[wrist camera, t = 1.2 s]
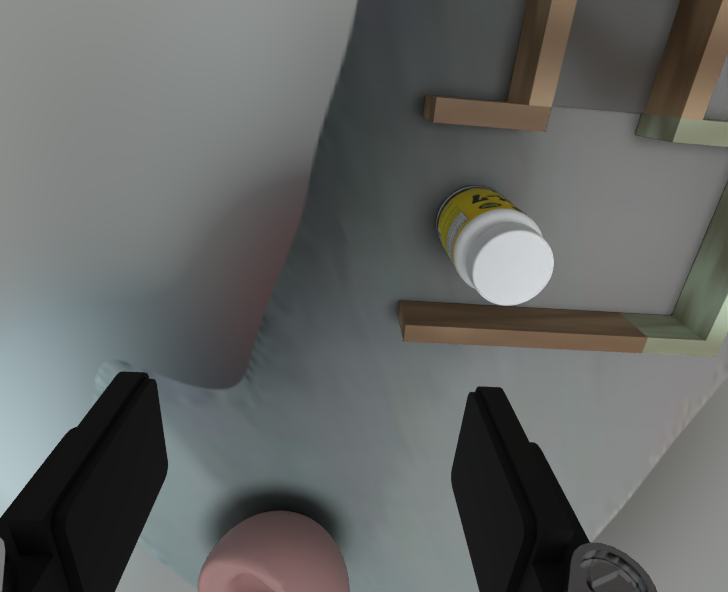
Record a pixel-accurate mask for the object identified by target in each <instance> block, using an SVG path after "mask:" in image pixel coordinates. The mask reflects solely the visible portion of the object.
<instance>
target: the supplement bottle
mask: <svg viewBox="0 0 728 592" xmlns="http://www.w3.org/2000/svg"><path fill="white" fill-rule="evenodd" d="M436 229H437V234H438V237H439V240H440V242H441V244H442V245H443V247H444V249H445V251H446V252H447V254H448V256H449V258H450V260H451V261H452V263H453V265H454V267H455V269H456V270H457V272H458V274H459V275H460V277H461V278H462V279H463V280H464V281H465V282H466V283H467V284H468V285H469V286H471V287H472V288H474V289H476V290H477V291H478V293H479V294H480V295H481V296H482V297H483V298H485V299H486V300H488V301H490V302H492V303H495V304H498V305H506V306H507V305H516V304H520V303H523V302H526V301H528V300H530V299H531V298H533V297H534V296H536V295H537V294H538V293H539V292H541V291H542V289H543V288H544V287H545V286H546V284H547V283H548V281H549V279H550V277H551V275H552V272H553V267H554V258H553V253H552V250H551V248H550V246H549V244H548V243H547V242H546V241H545V240H544V239H543V237H542V233H541V231H540V229H539V227H538V226H537V225H536V223H535V222H534V221H533V220H532V219H531V218H530V217H529V216H528V215H526V214H525V213H523V212H522V211H521V210H520V209H518V208H517V207H516V206H515V205H513V204H512V203H511V202H509V201H508V200H507V199H506V198H504V197H503V196H502V195H500V194H499V193H498V192H496V191H494V190H493V189H490V188H487V187H483V186H470V187H465V188H462V189H460V190H458V191H456V192H455V193H453V194H452V195H451V196H449V197H448V198H447V199H446V200H445V202H444V203H443V205H442V206H441V208H440V210H439V213H438V216H437V221H436Z"/></svg>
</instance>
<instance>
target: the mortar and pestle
mask: <svg viewBox="0 0 728 592" xmlns="http://www.w3.org/2000/svg"><path fill="white" fill-rule="evenodd" d="M198 592H350V588H349V578H348V573H347V568H346V564H345V561H344V558H343V556H342V554H341V551H340V549H339V547H338V546H337V544H336V542H335V541H334V539H333V538H332V537H331V535H330V534H329V533H328V532H327V531H326V530H325V529H324V528H323V527H322V526H321V525H319V524H318V523H317V522H315V521H314V520H312V519H310V518H309V517H306V516H304V515H302V514H299V513H295V512H290V511H269V512H264V513H260V514H257V515H254V516H252V517H250V518H248V519H245V520H243V521H242V522H240V523H239V524H237V525H236V526H234V527H233V528H232V529H231V530H229V531H228V532H227V533H226V534H225V535H224V536H223V537H222V538H221V539H220V540H219V541H218V543H217V544H216V545H215V546H214V548H213V549H212V551H211V552H210V554H209V555H208V557H207V559H206V561H205V563H204V565H203V567H202V569H201V572H200V575H199V579H198Z"/></svg>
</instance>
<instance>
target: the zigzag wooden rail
mask: <svg viewBox="0 0 728 592" xmlns="http://www.w3.org/2000/svg"><path fill="white" fill-rule="evenodd" d="M727 53H728V0H527V4H526V9H525V15H524V20H523V25H522V30H521V35H520V40H519V45H518V50H517V55H516V60H515V65H514V70H513V75H512V80H511V85H510V90H509V95H508V100H507V102H505V101H494V100H482V99H471V98H459V97H448V96H436V95H426V96H425V104H424V112H423V117H424V118H426V119H428V120H430V121H432V122H434V123H446V124H458V125H470V126H483V127H495V128H507V129H519V130H531V131H543V132H546V129H547V125H548V121H549V116H550V112H551V108H552V106H562V107H573V108H585V109H596V110H608V111H619V112H631V113H642V115H641V118H640V121H639V124H638V127H637V130H636V134H635V135H639V136H644V137H649V138H654V139H659V140H664V141H669V142H676V143H688V144H700V145H712V146H724V147H728V121H724V120H712V119H703V118H704V115H705V112H706V110H707V107H708V104H709V102H710V99H711V96H712V94H713V91H714V88H715V86H716V83H717V80H718V78H719V75H720V72H721V70H722V67H723V64H724V62H725V59H726V56H727ZM398 319H399V323H400V328H401V333H402V337H403V341H406V342H427V343H447V344H467V345H487V346H507V347H528V348H548V349H568V350H588V351H608V352H629V353H649V354H669V355H689V356H709V357H716V355H717V353H718V351H719V349H720V347H721V345H722V343H723V341H724V339H725V337H726V335H727V333H728V183H727V185H726V188H725V190H724V192H723V195H722V197H721V200H720V202H719V204H718V207H717V209H716V211H715V214H714V216H713V219H712V221H711V223H710V226H709V228H708V231H707V233H706V235H705V238H704V240H703V242H702V245H701V247H700V250H699V252H698V254H697V257H696V259H695V262H694V264H693V266H692V269H691V271H690V273H689V276H688V278H687V281H686V283H685V285H684V288H683V290H682V293H681V295H680V297H679V300H678V302H677V304H676V307H675V309H674V312H673V314H672V316H671V315H653V314H635V313H617V312H599V311H581V310H563V309H545V308H527V307H509V306H491V305H473V304H455V303H437V302H419V301H401V300H400V302H399V310H398Z"/></svg>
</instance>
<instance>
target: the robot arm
mask: <svg viewBox="0 0 728 592" xmlns="http://www.w3.org/2000/svg"><path fill="white" fill-rule="evenodd" d="M167 470H168V460H167V453H166V446H165V439H164V432H163V425H162V418H161V411H160V404H159V397H158V390H157V383H156V381H155V379H149V376H148V374H147V373H145V372H119V373H118V374H117V375H116V376H115V378H114V379H113V380H112V382H111V383H110V384H109V386H108V387H107V388H106V390H105V391H104V392H103V394H102V395H101V396H100V397H99V399H98V400H97V401H96V403H95V404H94V405H93V407H92V408H91V409H90V411H89V412H88V413H87V414H86V416H85V417H84V418H83V420H82V421H81V422H80V424H79V425H78V426H77V427H75V428H73V429H71V430H70V431H68V433H66V435H65V436H64V437H63V438H62V440H61V441H60V442H59V443H58V445H57V446H56V447H55V449H54V450H53V451H52V452H51V454H50V455H49V456H48V457H47V459H46V460H45V461H44V463H43V464H42V465H41V466H40V468H39V469H38V470H37V472H36V473H35V474H34V475H33V477H32V478H31V479H30V481H29V482H28V483H27V484H26V486H25V487H24V488H23V490H22V491H21V492H20V493H19V495H18V496H17V498H16V499H15V500H14V501H13V502H12V504H11V505H10V506H9V508H8V509H7V510H6V511H5V513H4V514H3V515H2V517H1V518H0V592H115V590H116V588H117V585H118V583H119V581H120V579H121V576H122V574H123V572H124V570H125V567H126V565H127V563H128V561H129V559H130V556H131V554H132V552H133V550H134V547H135V545H136V543H137V541H138V539H139V536H140V534H141V532H142V530H143V527H144V525H145V523H146V521H147V518H148V516H149V514H150V512H151V509H152V507H153V505H154V503H155V500H156V498H157V496H158V494H159V491H160V489H161V487H162V485H163V483H164V480H165V478H166V475H167ZM451 482H452V488H453V492H454V495H455V499H456V503H457V507H458V511H459V515H460V518H461V522H462V526H463V530H464V534H465V538H466V541H467V545H468V549H469V553H470V557H471V561H472V564H473V568H474V572H475V576H476V580H477V584H478V587H479V591H480V592H657V590H656V587H655V585H654V584H653V582H652V580H651V578H650V576H649V575H648V574H647V573H646V571H645V570H644V569H643V568H642V567H641V566H640V565H639V564H638V563H637V562H636V561H635V560H634V559H632V558H631V557H630V556H628V555H627V554H626V553H624V552H622V551H620V550H618V549H616V548H615V547H612V546H608V545H606V544H602V543H590V542H589V540H588V538H587V536H586V534H585V532H584V530H583V528H582V526H581V525H580V523H579V521H578V519H577V517H576V515H575V513H574V511H573V509H572V507H571V505H570V504H569V502H568V500H567V498H566V496H565V494H564V492H563V490H562V488H561V486H560V485H559V483H558V481H557V479H556V477H555V475H554V473H553V471H552V469H551V467H550V465H549V464H548V462H547V460H546V458H545V456H544V454H543V452H542V450H541V449H540V447H539V446H538V445H537V444H536V443H533V442H529V440H528V438H527V436H526V434H525V432H524V430H523V428H522V426H521V424H520V422H519V420H518V418H517V416H516V414H515V412H514V410H513V408H512V406H511V405H510V403H509V401H508V399H507V397H506V395H505V393H504V391H503V389H502V388H500V387H480V386H479V387H477V389H476V391H475V392H470V393H469V394H468V398H467V402H466V407H465V411H464V416H463V421H462V425H461V430H460V434H459V439H458V444H457V448H456V453H455V457H454V462H453V466H452V472H451Z"/></svg>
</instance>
